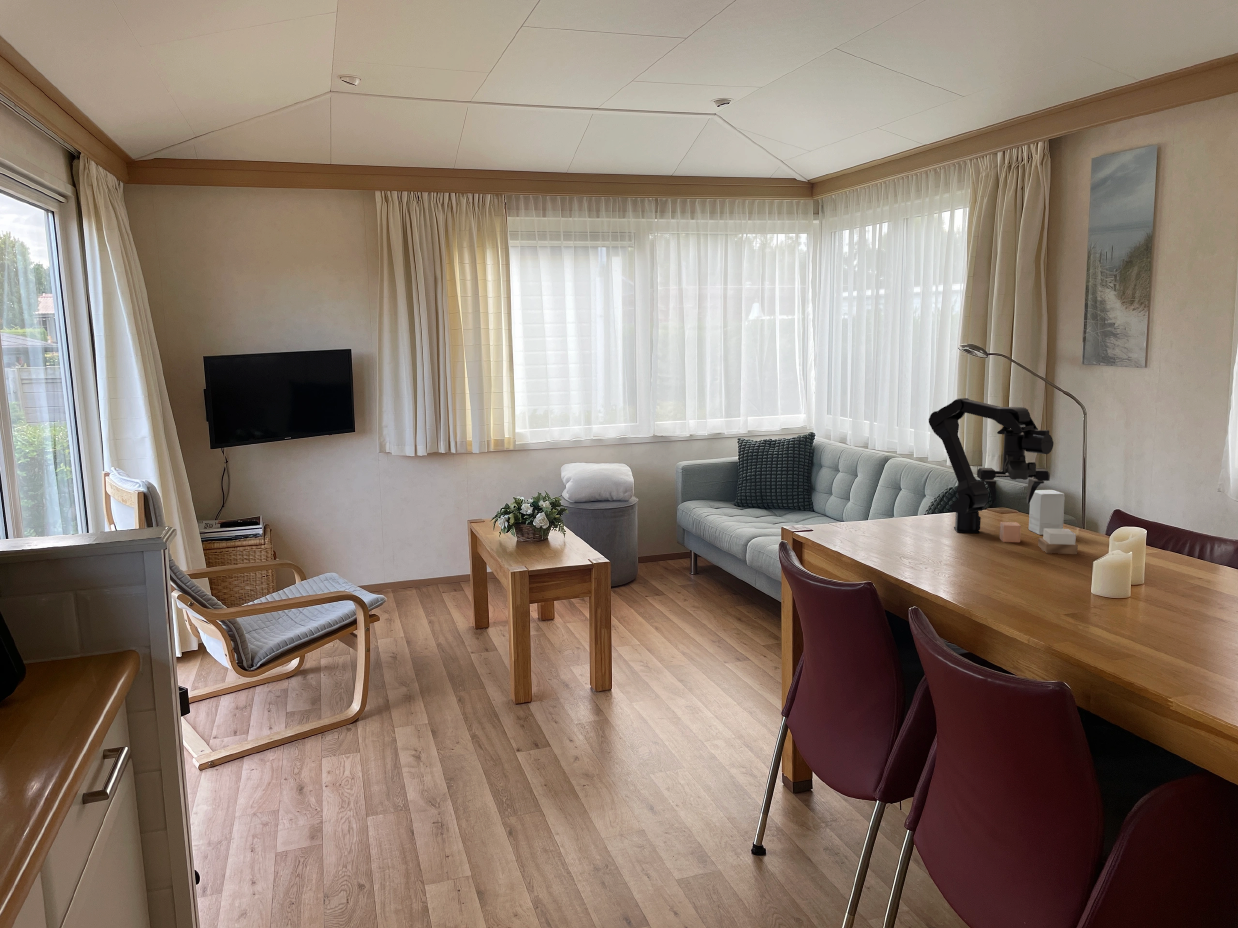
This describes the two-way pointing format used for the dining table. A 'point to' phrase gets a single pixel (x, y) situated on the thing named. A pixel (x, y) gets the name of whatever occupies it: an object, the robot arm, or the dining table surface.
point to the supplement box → (1046, 510)
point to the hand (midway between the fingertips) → (1011, 503)
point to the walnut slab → (1057, 547)
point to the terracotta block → (1010, 531)
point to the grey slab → (1059, 536)
